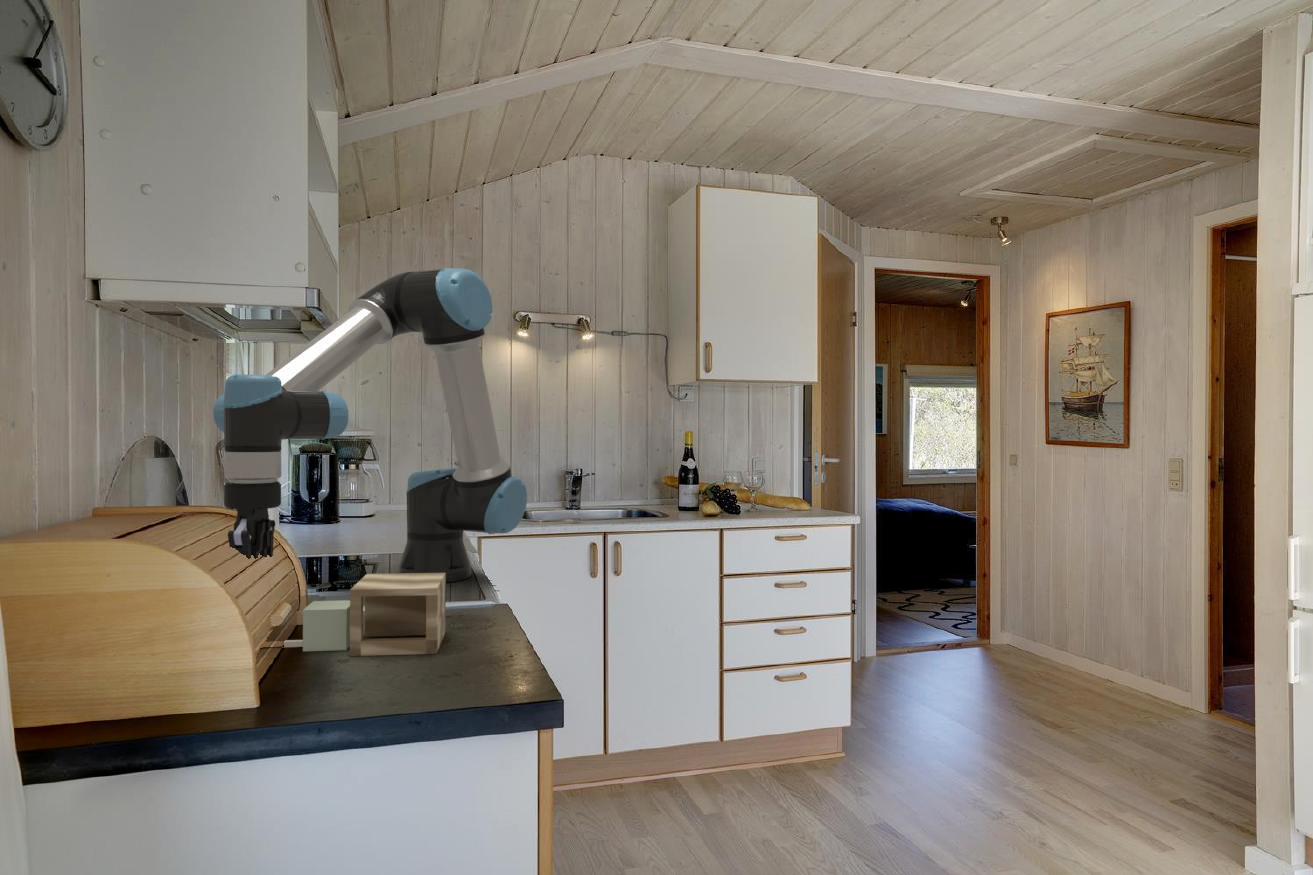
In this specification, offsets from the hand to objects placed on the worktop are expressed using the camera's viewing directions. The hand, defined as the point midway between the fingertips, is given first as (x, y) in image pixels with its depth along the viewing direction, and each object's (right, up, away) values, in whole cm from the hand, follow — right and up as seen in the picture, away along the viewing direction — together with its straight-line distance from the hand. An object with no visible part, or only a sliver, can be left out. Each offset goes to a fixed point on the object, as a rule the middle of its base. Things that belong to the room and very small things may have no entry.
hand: (252, 640), depth 121 cm
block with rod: (+6, -1, +1) cm, 6 cm away
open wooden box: (+21, -1, +3) cm, 21 cm away
